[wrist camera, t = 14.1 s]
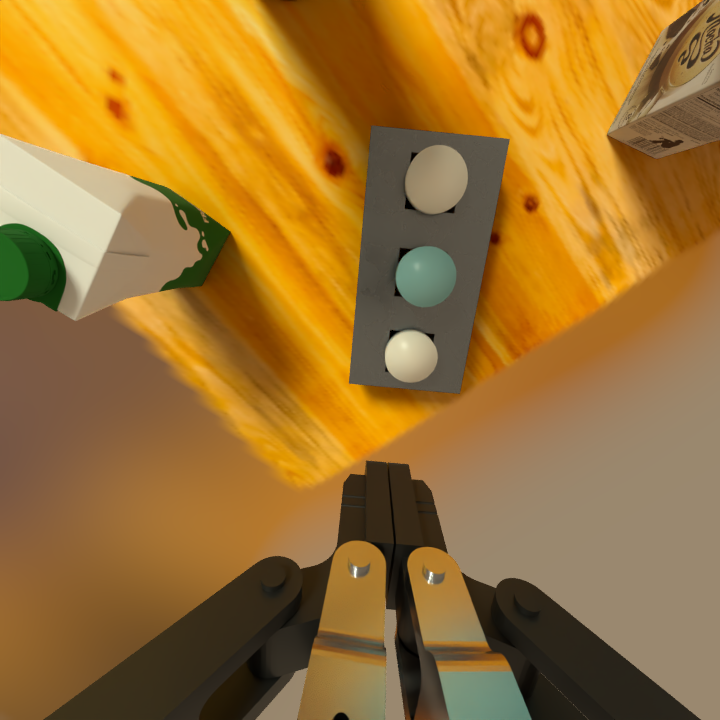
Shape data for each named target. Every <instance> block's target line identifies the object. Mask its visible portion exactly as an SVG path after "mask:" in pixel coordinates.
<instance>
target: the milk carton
mask: <svg viewBox="0 0 720 720" xmlns="http://www.w3.org/2000/svg"><path fill="white" fill-rule="evenodd" d="M229 234H230V231H229V230H227V229H226V228H225V227H223V226H222V225H220V224H219V223H218V222H216V221H215V220H214V219H212V218H211V217H209V216H208V215H207V214H205V213H204V212H203V211H201V210H200V209H198V208H197V207H195V206H194V205H193V204H191V203H190V202H188V201H187V200H185V199H184V198H182V197H181V196H179V195H178V194H177V193H175V192H174V191H172V190H171V189H169V188H167V187H164V186H161V185H158V184H155V183H152V182H149V181H145V180H142V179H139V178H136V177H133V176H129V175H126V174H123V173H120V172H117V171H113V170H110V169H107V168H104V167H100V166H97V165H94V164H91V163H88V162H84V161H81V160H78V159H75V158H72V157H69V156H65V155H62V154H59V153H56V152H53V151H50V150H47V149H44V148H41V147H38V146H35V145H32V144H29V143H26V142H23V141H20V140H17V139H14V138H11V137H8V136H5V135H2V134H0V301H11V300H19V299H26V298H27V299H29V300H32V301H36V302H41V303H43V304H45V305H46V306H48V307H49V308H51V309H53V310H54V311H60V312H61V313H63V314H65V315H66V316H68V317H69V318H71V319H73V320H75V321H77V320H79V319H81V318H84V317H86V316H88V315H90V314H93V313H95V312H97V311H99V310H101V309H104V308H106V307H108V306H110V305H113V304H115V303H117V302H119V301H122V300H124V299H126V298H131V297H135V296H140V295H145V294H150V293H155V292H160V291H165V290H170V289H175V288H185V287H199V286H202V284H203V283H204V281H205V279H206V277H207V275H208V273H209V271H210V269H211V268H212V266H213V264H214V262H215V260H216V258H217V256H218V254H219V253H220V251H221V249H222V247H223V245H224V243H225V241H226V239H227V238H228V236H229Z"/></svg>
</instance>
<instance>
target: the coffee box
mask: <svg viewBox="0 0 720 720" xmlns="http://www.w3.org/2000/svg"><path fill="white" fill-rule="evenodd" d="M607 135H608V136H610V137H612V138H614V139H616V140H618V141H620V142H623V143H625V144H627V145H629V146H631V147H633V148H635V149H637V150H639V151H641V152H643V153H645V154H647V155H649V156H651V157H653V158H655V159H659V158H662V157H665V156H668V155H671V154H675V153H678V152H681V151H685V150H688V149H691V148H695V147H698V146H701V145H704V144H708V143H711V142H714V141H718V140H720V0H703V1H702V2H700V3H699V4H697V5H696V6H695V7H694V8H692V9H691V10H690V11H688V12H687V13H686V14H684V15H683V16H681V17H680V18H679V19H677V20H676V21H675V22H673V23H672V24H671V25H669V26H668V27H666V28H665V29H664V30H663V31H662V32H661V34H660V36H659V38H658V39H657V41H656V43H655V45H654V47H653V49H652V51H651V53H650V54H649V56H648V58H647V60H646V62H645V64H644V66H643V68H642V69H641V71H640V73H639V75H638V77H637V79H636V81H635V82H634V84H633V86H632V88H631V90H630V92H629V94H628V95H627V97H626V99H625V101H624V103H623V105H622V107H621V109H620V110H619V112H618V114H617V116H616V118H615V120H614V122H613V123H612V125H611V127H610V129H609V131H608V133H607Z"/></svg>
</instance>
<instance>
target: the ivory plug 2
mask: <svg viewBox="0 0 720 720" xmlns="http://www.w3.org/2000/svg"><path fill="white" fill-rule="evenodd" d="M437 359H438V354H437V350H436V347H435V345H434V343H433V342H432V341H431V339H430V338H429V337H428V336H427V335H426V334H425V333H423V332H421V331H418V330H413V329H408V330H403V331H399V330H396V331H395V332H394V333H393V334H392V336H391V338H390V340H389V341H388V343H387V345H386V348H385V362H386V366H387V369H388V371H389V372H390V373H391V375H392V376H394V377H395V378H396V379H398V380H400V381H403V382H408V383H412V382H418V381H421V380H423V379H425V378H427V377H428V376H429V375H430V374H431V373H432V372H433V370H434V369H435V367H436V364H437Z"/></svg>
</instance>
